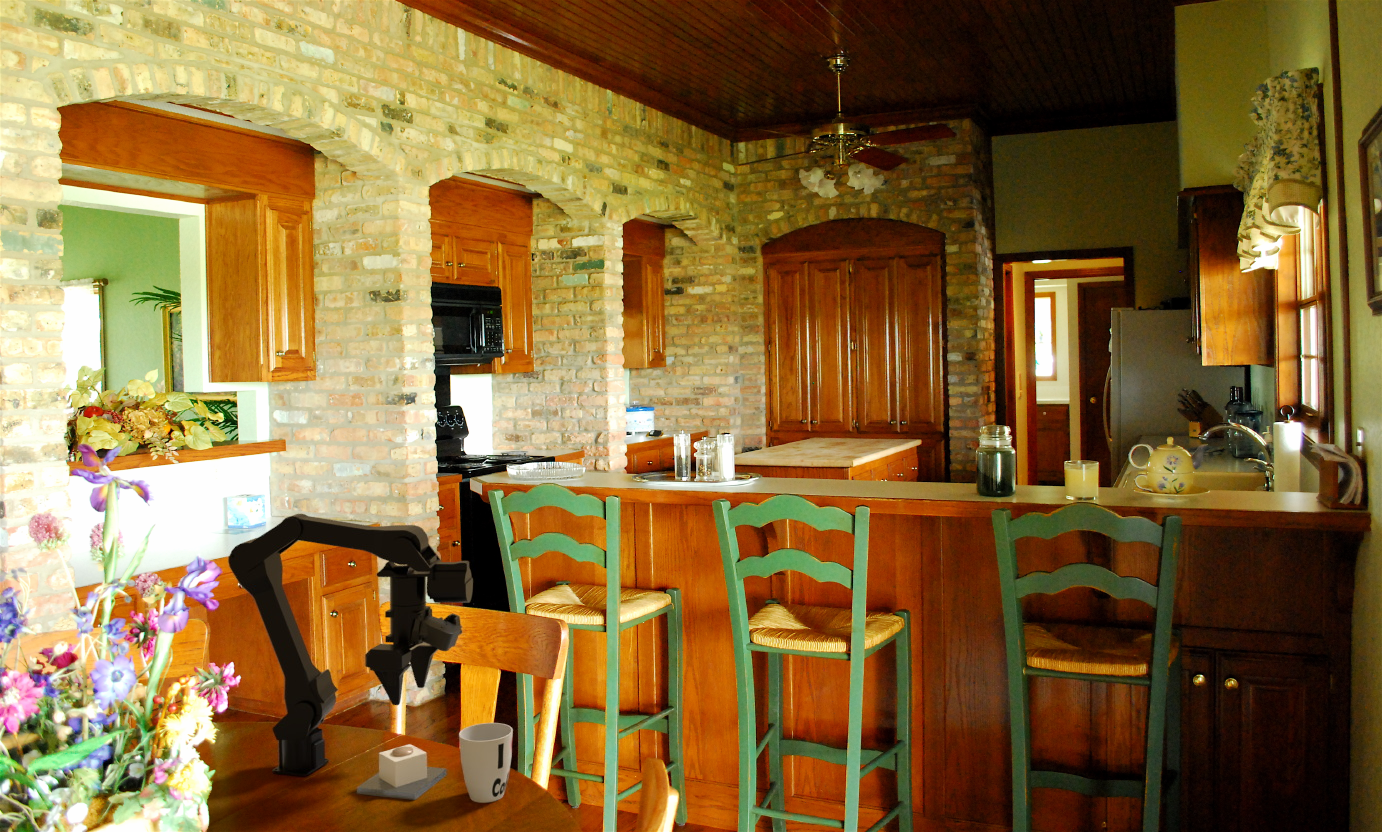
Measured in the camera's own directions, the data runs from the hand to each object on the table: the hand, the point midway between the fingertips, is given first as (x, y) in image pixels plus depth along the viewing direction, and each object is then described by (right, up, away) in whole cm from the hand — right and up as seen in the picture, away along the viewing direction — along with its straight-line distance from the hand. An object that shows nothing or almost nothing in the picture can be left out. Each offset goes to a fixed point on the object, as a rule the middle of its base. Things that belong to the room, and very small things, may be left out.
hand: (408, 695), depth 163 cm
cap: (+1, -11, -7) cm, 13 cm away
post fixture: (+1, -12, -7) cm, 14 cm away
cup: (+15, -12, -11) cm, 23 cm away
